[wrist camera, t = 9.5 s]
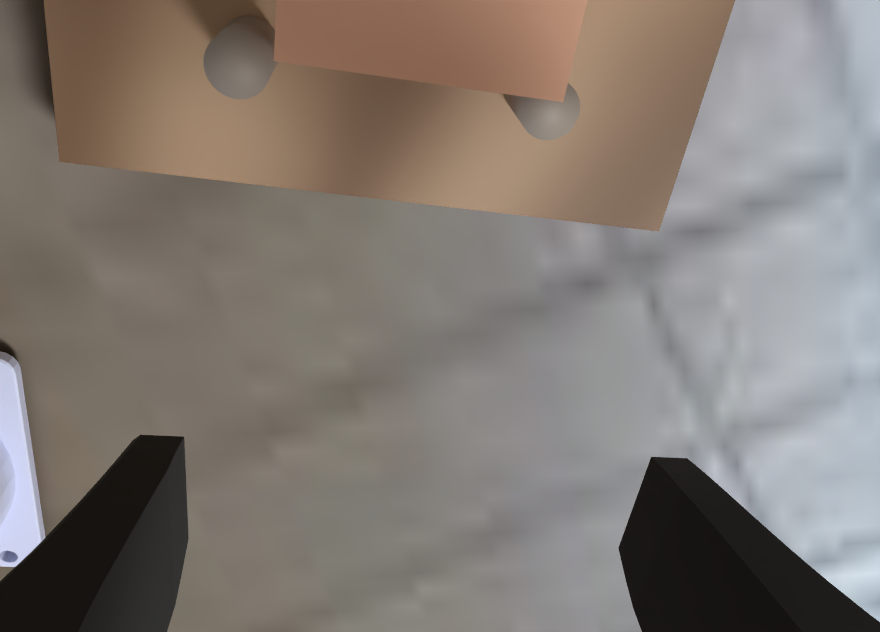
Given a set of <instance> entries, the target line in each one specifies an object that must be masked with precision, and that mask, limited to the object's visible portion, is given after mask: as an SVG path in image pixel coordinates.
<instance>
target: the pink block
mask: <svg viewBox="0 0 880 632" xmlns="http://www.w3.org/2000/svg"><path fill="white" fill-rule="evenodd" d="M586 5H587V0H276V20H275V42H274V61H276V62H283V63H290V64H297V65H304V66H311V67H318V68H325V69H333V70H340V71H347V72H354V73H361V74H368V75H375V76H382V77H389V78H396V79H403V80H410V81H417V82H424V83H431V84H438V85H445V86H452V87H459V88H466V89H473V90H480V91H487V92H494V93H501V94H508V95H515V96H523V97H530V98H537V99H544V100H551V101H558V102H563V101H564V97H565V93H566V89H567V84H568V80H569V76H570V72H571V68H572V63H573V59H574V55H575V51H576V47H577V42H578V38H579V34H580V30H581V26H582V21H583V17H584V13H585V9H586Z"/></svg>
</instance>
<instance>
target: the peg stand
mask: <svg viewBox="0 0 880 632" xmlns="http://www.w3.org/2000/svg"><path fill="white" fill-rule="evenodd" d="M43 1H44V11H45V21H46V31H47V41H48V51H49V61H50V71H51V81H52V91H53V101H54V112H55V122H56V132H57V142H58V152H59V162H66V163H75V164H84V165H92V166H101V167H109V168H118V169H127V170H135V171H144V172H152V173H161V174H170V175H178V176H187V177H196V178H204V179H213V180H221V181H230V182H239V183H247V184H256V185H264V186H273V187H282V188H290V189H299V190H308V191H316V192H325V193H333V194H342V195H351V196H359V197H368V198H376V199H385V200H394V201H402V202H411V203H420V204H428V205H437V206H445V207H454V208H463V209H471V210H480V211H488V212H497V213H506V214H514V215H523V216H532V217H540V218H549V219H557V220H566V221H575V222H583V223H592V224H600V225H609V226H618V227H626V228H635V229H644V230H652V231H659V229H660V226H661V223H662V220H663V217H664V214H665V211H666V208H667V205H668V202H669V199H670V196H671V193H672V190H673V187H674V184H675V181H676V178H677V175H678V172H679V169H680V166H681V163H682V160H683V157H684V154H685V150H686V147H687V144H688V141H689V138H690V135H691V132H692V129H693V126H694V123H695V120H696V117H697V114H698V111H699V108H700V105H701V102H702V99H703V96H704V93H705V90H706V87H707V84H708V81H709V78H710V75H711V72H712V69H713V66H714V63H715V60H716V57H717V54H718V50H719V47H720V44H721V41H722V38H723V35H724V32H725V29H726V26H727V23H728V20H729V17H730V14H731V11H732V8H733V5H734V2H735V0H587V5H586V9H585V13H584V17H583V21H582V26H581V30H580V34H579V38H578V42H577V47H576V51H575V55H574V59H573V63H572V68H571V72H570V76H569V80H568V84H567V89H566V93H565V97H564V101H563V102H558V101H551V100H544V99H537V98H530V97H523V96H515V95H508V94H501V93H494V92H487V91H480V90H473V89H466V88H459V87H452V86H445V85H438V84H431V83H424V82H417V81H410V80H403V79H396V78H389V77H382V76H375V75H368V74H361V73H354V72H347V71H340V70H333V69H325V68H318V67H311V66H304V65H297V64H290V63H283V62H276V61H274V42H275V20H276V0H43Z"/></svg>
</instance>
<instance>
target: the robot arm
mask: <svg viewBox="0 0 880 632" xmlns="http://www.w3.org/2000/svg"><path fill="white" fill-rule="evenodd" d="M187 543H188V517H187V494H186V471H185V448H184V437H177V436H154V435H140V436H138V437H137V438H136V439H134V440H133V441H132V442H131V443H130V444H129V446H128V447H127V448H126V449H125V450H124V452H123V453H122V454H121V455H120V456H119V458H118V459H117V460H116V461H115V462H114V463H113V465H112V466H111V467H110V468H109V469H108V470H107V472H106V473H105V474H104V475H103V476H102V477H101V478H100V480H99V481H98V482H97V483H96V484H95V485H94V486H93V487H92V489H91V490H90V491H89V492H88V493H87V494H86V495H85V496H84V497H83V499H82V500H81V501H80V502H79V503H78V504H77V505H76V506H75V507H74V508H73V509H72V510H71V511H70V512H69V513H68V514H67V516H66V517H65V518H64V519H63V520H62V521H61V522H60V523H59V524H58V525H57V526H56V527H55V528H54V529H53V530H52V531H51V532H50V533H49V534H48V535H47V536H46V538H45V532H44V525H43V518H42V511H41V505H40V498H39V491H38V484H37V477H36V471H35V464H34V457H33V450H32V444H31V437H30V430H29V423H28V416H27V410H26V403H25V396H24V389H23V382H22V376H21V369H20V366H19V363H18V361H17V360H16V359H15V358H14V357H13V356H11V355H9V354H7V353H5V352H1V351H0V566H5V567H15V568H14V569H13V570H12V571H11V572H10V573H9V574H7V575H6V576H5V577H4V578H3V579H2V580H1V581H0V632H167V629H168V626H169V623H170V620H171V616H172V613H173V610H174V607H175V603H176V598H177V593H178V589H179V584H180V579H181V574H182V569H183V564H184V558H185V553H186V548H187ZM10 551H12V552H10ZM619 552H620V556H621V561H622V565H623V569H624V574H625V578H626V582H627V586H628V590H629V593H630V597H631V601H632V605H633V608H634V611H635V614H636V617H637V619H638V622H639V625H640V627H641V630H642V632H880V622H879V621H877V620H876V619H875V618H873V617H872V616H871V615H869V614H868V613H867V612H866V611H864V610H863V609H862V608H861V607H859V606H858V605H857V604H856V603H854V602H853V601H852V600H851V599H849V598H848V597H847V596H846V595H844V594H843V593H842V592H841V591H839V590H838V589H837V588H836V587H834V586H833V585H832V584H831V583H829V582H828V581H827V580H826V579H825V578H823V577H822V576H821V575H820V574H819V573H817V572H816V571H815V570H814V569H813V568H811V567H810V566H809V565H808V564H807V563H806V562H804V561H803V560H802V559H801V558H800V557H799V556H797V555H796V554H795V553H794V552H793V551H792V550H790V549H789V548H788V547H787V546H786V545H785V544H784V543H783V542H781V541H780V540H779V539H778V538H777V537H776V536H775V535H773V534H772V533H771V532H770V531H769V530H768V529H767V528H766V527H764V526H763V525H762V524H761V523H760V522H759V521H758V520H757V519H756V518H754V517H753V516H752V515H751V514H750V513H749V512H748V511H747V510H746V509H744V508H743V507H742V506H741V505H740V504H739V503H738V502H737V501H736V500H734V499H733V498H732V497H731V496H730V495H729V494H728V493H727V492H726V491H724V490H723V489H722V488H721V487H720V486H719V485H718V484H717V483H715V482H714V481H713V480H712V479H711V478H710V477H709V476H707V475H706V474H705V473H704V472H703V471H702V470H701V469H699V468H698V467H697V466H696V465H694V464H693V463H692V462H691V461H690V460H688V459H687V458H664V457H651V459H650V462H649V465H648V468H647V470H646V473H645V476H644V479H643V482H642V484H641V487H640V490H639V493H638V495H637V498H636V501H635V504H634V507H633V509H632V512H631V515H630V518H629V520H628V523H627V526H626V529H625V532H624V534H623V537H622V540H621V543H620V545H619Z"/></svg>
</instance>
